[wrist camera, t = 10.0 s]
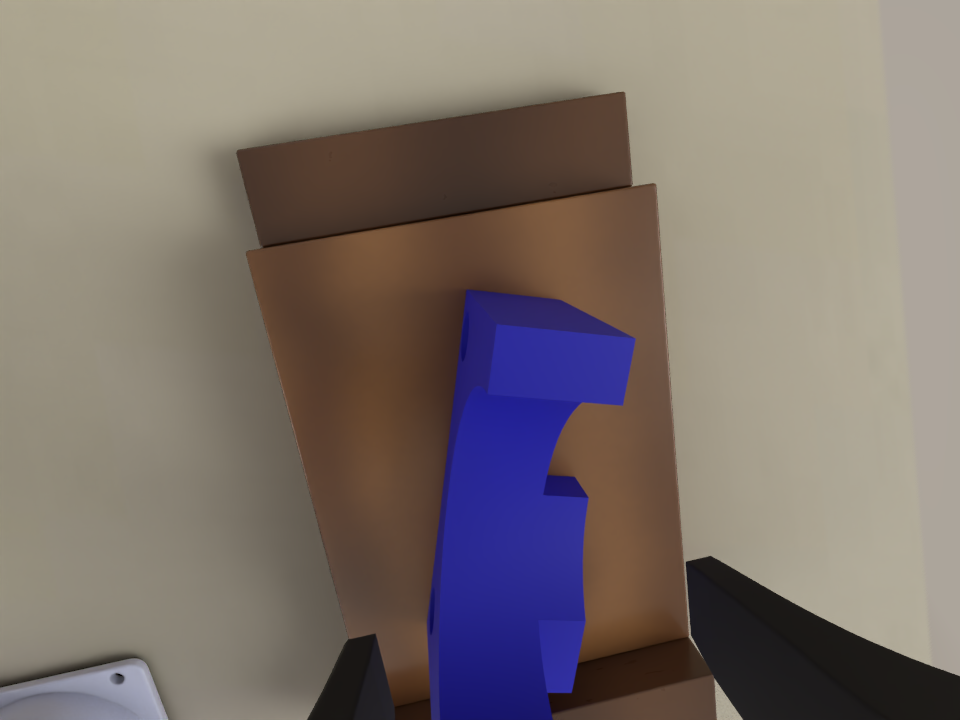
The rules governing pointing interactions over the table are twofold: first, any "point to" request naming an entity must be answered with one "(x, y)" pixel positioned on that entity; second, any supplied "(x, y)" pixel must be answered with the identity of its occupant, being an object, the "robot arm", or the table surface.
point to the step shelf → (434, 359)
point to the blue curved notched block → (515, 507)
